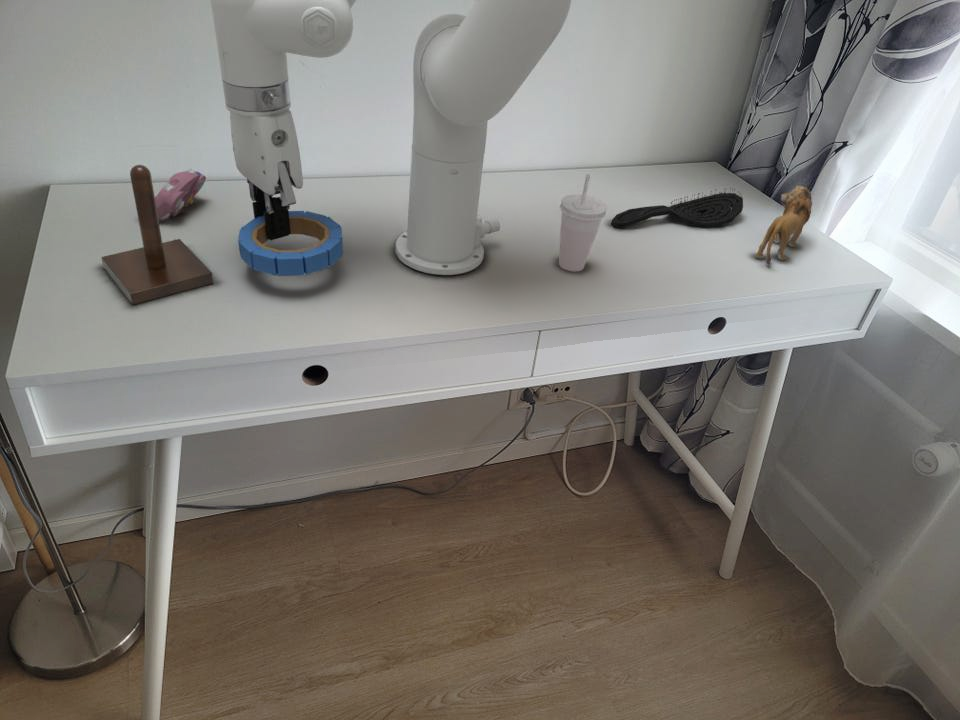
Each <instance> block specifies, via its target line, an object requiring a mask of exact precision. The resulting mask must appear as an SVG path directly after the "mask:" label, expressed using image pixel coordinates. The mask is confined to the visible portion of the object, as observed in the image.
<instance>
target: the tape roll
mask: <svg viewBox="0 0 960 720" xmlns="http://www.w3.org/2000/svg"><path fill="white" fill-rule="evenodd" d="M288 211H289V221H290V231H291V233H290V235H303V236H309V237H312V238H316V239H318V240H319V242H317V243H316V244H314V245H311V246H307V247H304V248H300V249H277V248H274V247H270V246H265V245H264V244H265V243H266V242H268V240H269V239H268V238H267V235H266V227H265V219H264V215H263V216H260V217H257V219H256V218H254V217H253V219H252V220H250V221H249V222H247V223H246V224H245V225H243V226H241V228H240V229H239V233H238V240H237V242H238V249H239V256H240V259H241V260H242V261H243V262H244V263H245V264H246V265H247V266H248V267H249V268H251V269H252V270H254V271H257V272H261V273H265V274H268V275H272V276H278V277H291V276H305V275H307V276H308V275H311V274H313V273H317V272H320V271H323V270H326V269H329V267H332V266H333V265H334V264H335V263H337V261H338V260H340V259H341V258H342V257H343V255H344V249H343V248H344V247H343V229H342V228H343V227H341V225H340V224H339V223H338V222H337V221H335V220H334V219H333V218H331V217H330V216H327V215H325V214H320V213H316V212H313V211H308V210H306V211H304V210H288ZM269 241H270V240H269Z"/></svg>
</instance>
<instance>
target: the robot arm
mask: <svg viewBox="0 0 960 720" xmlns="http://www.w3.org/2000/svg"><path fill="white" fill-rule="evenodd" d="M474 1H475V2H474V4H472V6H471V8H470V9H469V11H468V12H467V14H466V15H463V14H459V13H446V14H442V15H440V16H438V17H435V18H434V19H432V20H431V21H429V22H428V23H427V25H426V26H425V27H424V28H423V29H422V31H421V32H420V35H419V36H418V38H417V40H416V43H415V47H414V53H413V61H412V62H413V63H412V65H413V66H412V71H413V72H412V74H413V77H412V79H413V80H412V81H413V83H412V84H413V117H412V118H413V122H412V143H411V153H410V154H411V157H410V175H409V191H408V192H409V193H408V211H407V227H406V228H407V229H406V231H405V232H402V234H400V235H399V236H398V238H396V240H395V254H396V257H397V258H398V259H399V260H400V261H401V262H402V264H404V265H406V266H407V267H409V268H411V269H413V270H415V271H417V272H422V273H425V274H430V275H436V276H454V275H460V274H465V273H468V272H471V271H472V270H475V269H476V268H478V267H479V266H480V265H481V264H482V262H483V260H484V254H485V250H484V246H483V244H482V243H481V239H484V237H485V235H489V234H490V235H491V234H494V233H496V232H499V231H500V230H501V223H500V221H499V220H498V219H497V218H491V219H488V220H485V221H483V218H482V217H481V216H480V215H478V212H479V204H480V203H479V202H480V194H481V186H482V179H483V167H484V159H485V153H486V144H487V136H488V135H487V134H488V122H489V121H490V120H491V119H492V118H494V117H496V116H497V115H498V114H499V113H500V112H501V111H502V110H503V109H504V108H505V107H506V106H507V104H508V103H509V102H510V101H511V100H512V98H513V97H514V95H515V94H516V93H517V92H518V90H519V89H520V88H521V86H522V85H523V84H524V82H525V81H526V80H527V78H528V77H529V75H530V74H531V73H532V72H533V70H534V69H535V67H536V66H537V65H538V63H539V62H540V60H541V59H542V58H543V56H544V55H545V53H546V52H547V51H548V50H549V48H550V47H551V45H552V44H553V42H555V40H556V39H557V37H558V35H559V33H560V32H561V30H562V29H563V27H564V25H565V22H566V20H567V18H568V15H569V12H570V8H571V5H572V0H474ZM356 2H357V0H210V4H211V10H212V11H211V12H212V17H213V25H214V33H215V39H216V47H217V52H218V59H219V66H220V67H219V68H220V73H221V74H220V75H221V81H222V88H223V95H224V103H225V108H226V109H227V111H229V120H230V121H229V122H230V123H229V124H230V133H231V145H232V151H233V158H234V162H235V167H236V169H237V170H238V172H239V173H240V174H241V175H242V176H243V177H244V178H245V179H246V183H247V184H248V189H249V197H250V199H251V202H252V203H251V205H252V210H253V219H254V218H256V219H257V217H260V216H263V215H264V219H265V227H266V235H267V238H268V239H269V241H274V240H278V239H282V238H285V237H288V236H290V235H291V234H290V233H291V231H290V221H289V211H290V209H291V206H293V205H296V204H297V199H296V195H295V192H294V188H295V189H302V188H303V186H304V176H303V167H302V160H301V153H300V146H299V140H298V133H297V131H296V125H295V121H294V118H293V115H292V111H291V110H290V108H291V106H292V103H291V93H290V91H291V90H290V81H289V70H288V68H289V67H288V58H287V57H288V56H287V54H293V55H298V56H302V57H303V56H304V57H308V58H317V59H324V58H330V57H333V56H335V55H338V54H339V53H341V52H343V51H344V49H345V48H346V47H347V46H348V45H349V43H350V41H351V39H352V36H353V31H354V20H353V14H352V11H351V8H352V7H353V6H354V4H355V3H356ZM293 187H294V188H293ZM276 195H280V196H276Z"/></svg>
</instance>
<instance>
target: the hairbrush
mask: <svg viewBox="0 0 960 720" xmlns="http://www.w3.org/2000/svg"><path fill="white" fill-rule="evenodd" d="M714 191H717V188H716V189H714ZM726 191H727V188H724V191H723V192H722V191H718V192H719V193H714V194H713V193H712V192H713V191H712V190H711V191H710V193H709V195H706V194H705V195H704V192H702V193H701V194H702V195H701V197H700V192H698V193H697V194H698V196H697V197H694V198H693V199H690V200H689V196H688V195H687V196H684V197H683V201H682V197H679V198H678V200H677V198H676V199H674V200H671V202H670V206H667V205H664V204H662V205H651V206H642V207H634V208H629V209H627V210H624V211H622V212H620V213H617V214H616V215H615V216H613V218H612V219H611V222H610V226H612V227H613V228H628V227H630V226H634V225H637V224H640V223H641V222H644V221H647V220H649V219H651V218H655V217H661V216H667V215H669V216H670V217H672V218H674V219H676V220H677V221H680V222H682V223H684V224H688V225H690V226H693V227H700V228H705V229H709V228H717V227H721V226H724V225H727V224H729V223H731V222H733V221H734V220H735V219H736V218H738V216H739V215H740V214H741V213H742V211H743V208H744V197H743V195H742V193H741V192H740V191H738V194H736V188H732V187H730V192H726ZM732 191H733V192H732ZM693 195H694V196H696V194H695V193H694V194H693ZM703 195H704V196H703ZM686 198H687V199H686ZM676 201H679V202H678V203H676Z"/></svg>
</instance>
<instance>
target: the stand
mask: <svg viewBox="0 0 960 720" xmlns="http://www.w3.org/2000/svg"><path fill="white" fill-rule="evenodd" d="M129 174H130V175H129V176H130V181H131V182H130V183H131V187H132V192H133V197H134V203H135V204H134V205H135V208H136V213H137V219H138V220H137V221H138V224H139V228H140V229H139V230H140V235H141V240H142V247H138V248H134V249H130V250H125V251H121V252H117V253H113V254H108V255H104V256H101V262H102V267H103V269H104V270H105V271H106V273H107V274H108V276H109V277H110V278H111V279H112V281H113V282H114V283H115V284H116V286H117V287H118V288H119V290H120V291H121V292H122V294H124V296H125V297H126V299H127V300H128V302H130V304H131V305H132V306H135V305H138V304H142V303H145V302H149V301H153V300H156V299H160V298H164V297H167V296H172V295H175V294H179V293H182V292H187V291H189V290H193V289H196V288H200V287H205V286H207V285H212V284H214V280H213V278H214V277H213V272H212V271H211V270H210V269H209V268H208V266H206V264H205V263H203V262H202V261H201V259H199V257H198V256H197V255H195V253H194V252H193V251H192V250H191V248H189V247H188V246H187V245H186V244H185V243H184V242H183V241H182V239H180V238H176V239H173V240H168V241H164V242H163V238H162V232H161V226H160V221H159V220H160V219H158V214H157V208H156V202H155V197H156V196H155V190H154V183H153V179H152V174H151V171H150V169H149V168H148V167H147V166H146V165H143V164H135V165H134V166H132V168H131V169H130V171H129Z"/></svg>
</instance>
